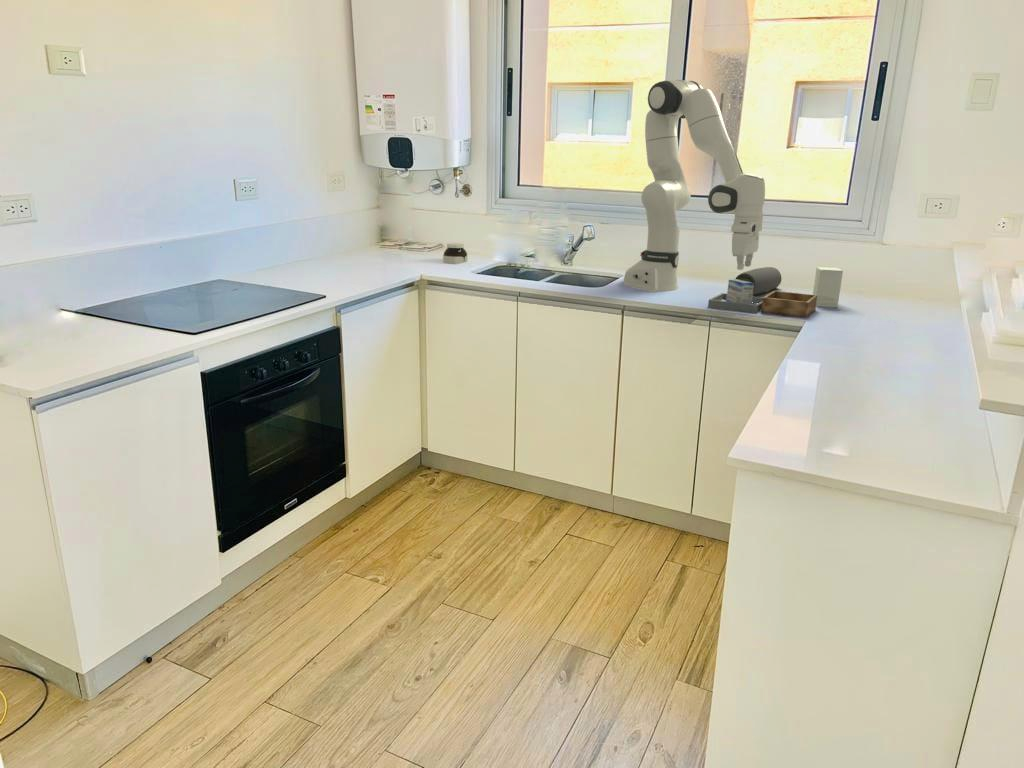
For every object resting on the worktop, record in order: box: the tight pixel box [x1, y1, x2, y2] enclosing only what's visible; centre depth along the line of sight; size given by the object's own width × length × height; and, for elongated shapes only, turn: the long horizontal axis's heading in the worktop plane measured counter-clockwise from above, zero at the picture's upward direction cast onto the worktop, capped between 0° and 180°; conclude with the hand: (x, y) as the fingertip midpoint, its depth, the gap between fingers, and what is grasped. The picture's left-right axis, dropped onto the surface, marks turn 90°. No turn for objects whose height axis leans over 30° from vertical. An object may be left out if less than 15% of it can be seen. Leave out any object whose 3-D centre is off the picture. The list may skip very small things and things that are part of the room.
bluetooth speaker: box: [734, 266, 783, 297], centre depth 272 cm, size 23×9×10 cm, turn 139°
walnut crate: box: [760, 290, 817, 319], centre depth 246 cm, size 14×16×5 cm
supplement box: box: [812, 266, 844, 308], centre depth 257 cm, size 7×7×13 cm
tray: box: [707, 292, 763, 314], centre depth 252 cm, size 16×16×2 cm
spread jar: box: [442, 242, 468, 265], centre depth 311 cm, size 12×11×12 cm
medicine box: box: [725, 278, 754, 304], centre depth 252 cm, size 8×4×9 cm, turn 23°
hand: (744, 267), depth 249 cm, fingers open, 8 cm apart
